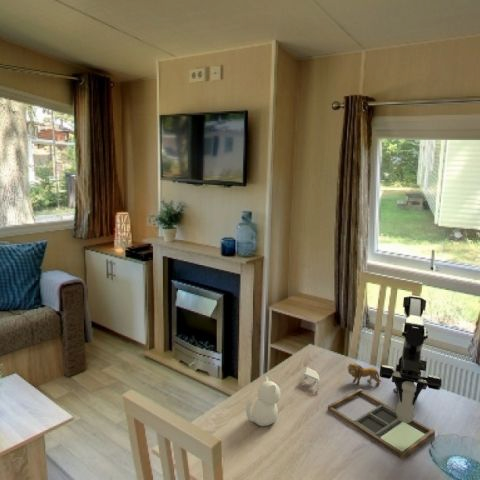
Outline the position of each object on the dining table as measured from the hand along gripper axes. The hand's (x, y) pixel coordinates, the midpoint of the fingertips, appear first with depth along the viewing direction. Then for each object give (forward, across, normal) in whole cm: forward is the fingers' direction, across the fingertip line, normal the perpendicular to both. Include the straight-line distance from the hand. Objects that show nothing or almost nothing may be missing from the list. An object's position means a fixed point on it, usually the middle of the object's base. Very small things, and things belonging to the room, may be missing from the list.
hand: (407, 403), depth 128 cm
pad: (+9, 0, +10) cm, 13 cm away
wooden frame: (+5, -8, +14) cm, 17 cm away
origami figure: (-3, -35, +23) cm, 42 cm away
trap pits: (+5, -8, +14) cm, 17 cm away
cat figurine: (+18, -45, +2) cm, 48 cm away
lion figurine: (-11, -16, +30) cm, 36 cm away
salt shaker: (+4, 0, +6) cm, 7 cm away
